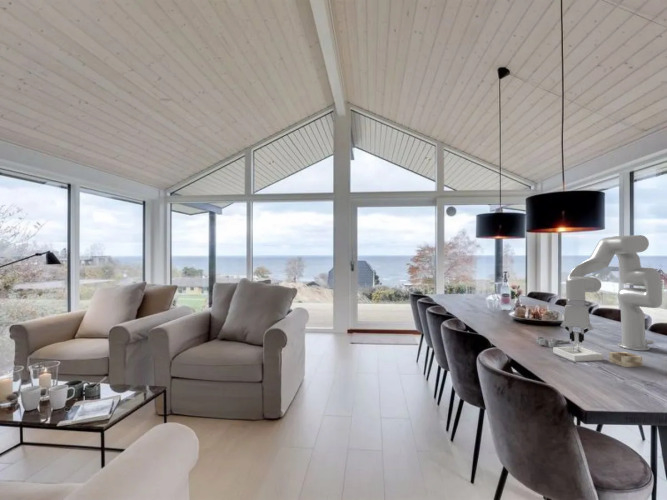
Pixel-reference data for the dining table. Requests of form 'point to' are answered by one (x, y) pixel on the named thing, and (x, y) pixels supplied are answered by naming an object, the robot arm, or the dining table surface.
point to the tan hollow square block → (625, 359)
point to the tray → (577, 354)
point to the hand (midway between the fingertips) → (576, 341)
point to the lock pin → (576, 341)
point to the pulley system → (553, 342)
